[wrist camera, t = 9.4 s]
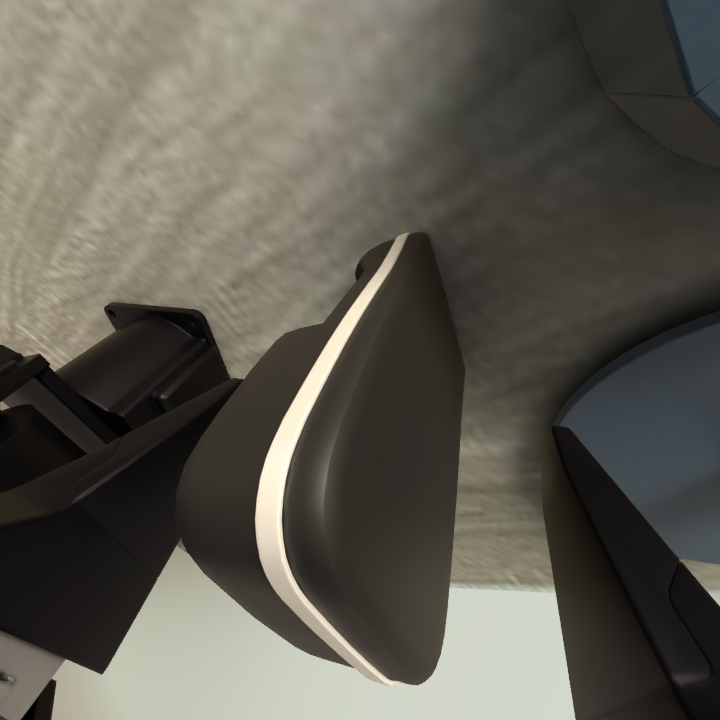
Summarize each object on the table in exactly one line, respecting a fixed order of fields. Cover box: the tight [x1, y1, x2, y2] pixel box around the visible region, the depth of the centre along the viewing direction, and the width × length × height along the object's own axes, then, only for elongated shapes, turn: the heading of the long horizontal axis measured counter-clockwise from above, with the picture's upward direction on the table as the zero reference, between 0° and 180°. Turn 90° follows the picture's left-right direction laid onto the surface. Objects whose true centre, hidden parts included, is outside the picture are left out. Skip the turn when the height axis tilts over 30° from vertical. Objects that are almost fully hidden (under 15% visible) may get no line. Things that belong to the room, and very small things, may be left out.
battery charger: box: [175, 232, 465, 686], centre depth 10 cm, size 7×4×11 cm, turn 22°
